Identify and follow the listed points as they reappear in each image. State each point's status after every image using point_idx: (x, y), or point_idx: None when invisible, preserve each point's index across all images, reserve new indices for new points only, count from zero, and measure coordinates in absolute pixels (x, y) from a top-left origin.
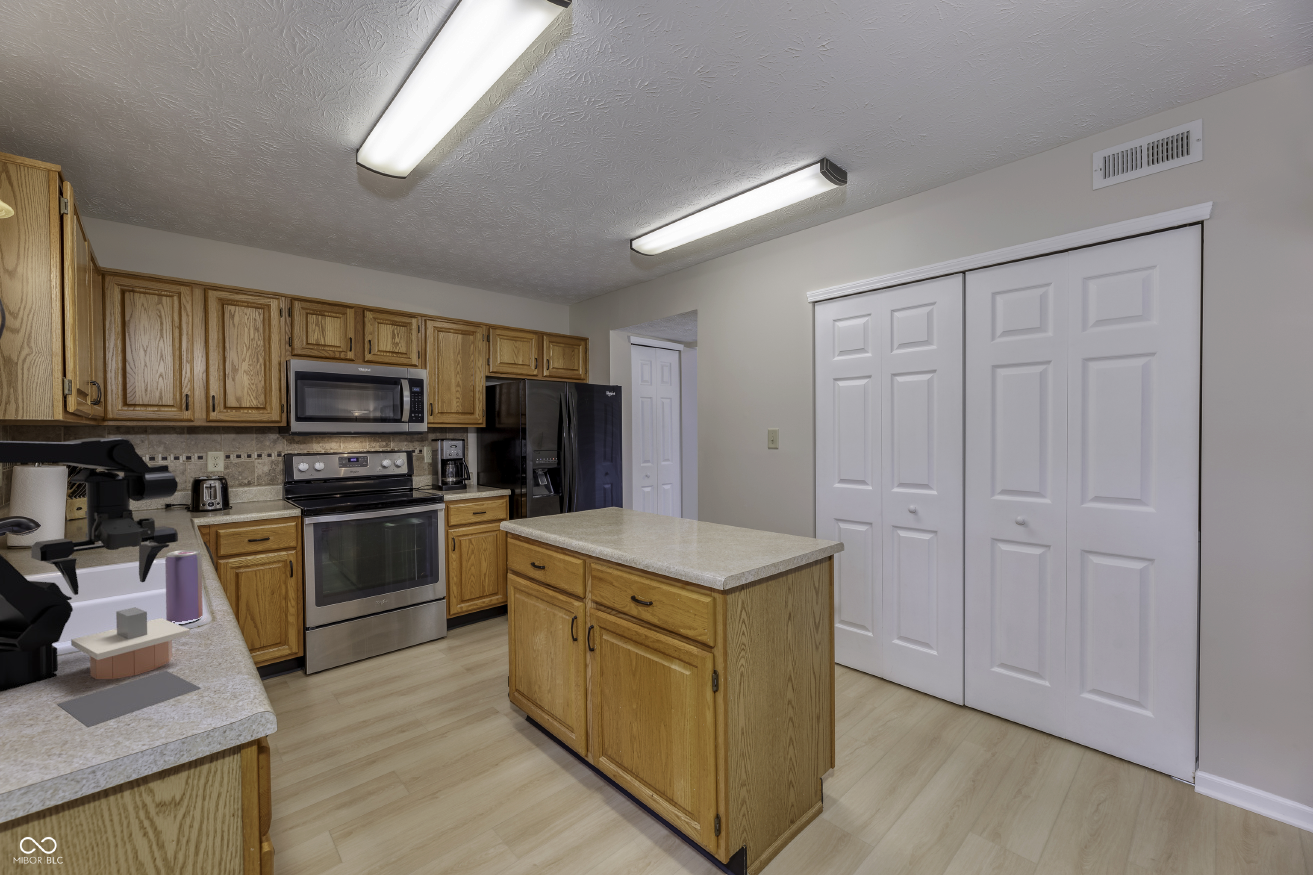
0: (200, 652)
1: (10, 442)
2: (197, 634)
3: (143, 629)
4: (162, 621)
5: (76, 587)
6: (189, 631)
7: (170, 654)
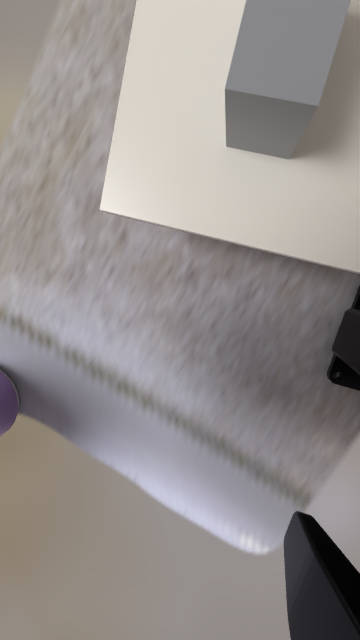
0: (120, 79)
1: None
2: (35, 253)
3: None
4: (125, 151)
5: (325, 555)
6: None
7: None
